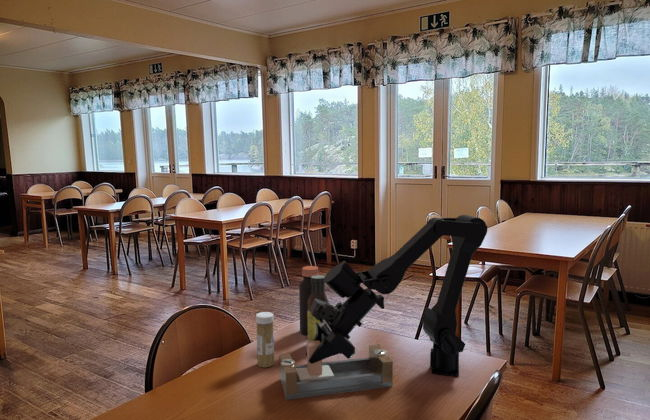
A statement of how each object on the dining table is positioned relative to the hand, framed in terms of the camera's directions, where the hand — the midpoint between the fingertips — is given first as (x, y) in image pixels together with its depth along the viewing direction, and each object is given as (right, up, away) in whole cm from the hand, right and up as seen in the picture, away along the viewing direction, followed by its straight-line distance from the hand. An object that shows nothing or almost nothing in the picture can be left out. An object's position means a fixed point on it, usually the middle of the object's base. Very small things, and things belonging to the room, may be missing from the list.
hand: (308, 359), depth 112 cm
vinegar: (0, -3, +34) cm, 34 cm away
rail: (+7, -6, +2) cm, 10 cm away
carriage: (+1, -5, +1) cm, 5 cm away
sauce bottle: (+2, -4, +24) cm, 25 cm away
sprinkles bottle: (-12, -5, +13) cm, 18 cm away
